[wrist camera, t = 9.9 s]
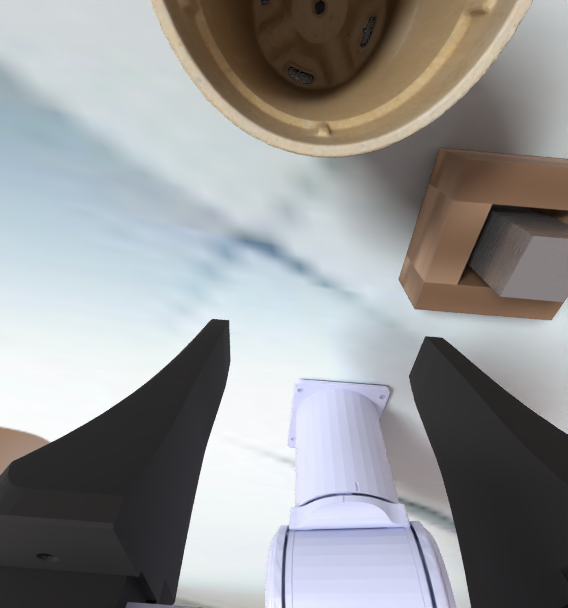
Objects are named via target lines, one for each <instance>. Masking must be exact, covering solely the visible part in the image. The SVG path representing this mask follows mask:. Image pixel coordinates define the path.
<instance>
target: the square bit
mask: <svg viewBox="0 0 568 608" xmlns="http://www.w3.org/2000/svg"><path fill="white" fill-rule="evenodd" d="M467 264H468V265H469V266H470V267H471V268H472V269H473V270H474V271H475V272H476V273H477V274H478V275H479V276H480V277H481V278H482V279H483V280H484V281H485V282H486V283H487V284H488V285H489V286H490V287H491V288H492V289H493V290H494V291H495V292H496V293H497V294H498V295H499V296H500V297H510V298H522V299H533V300H544V301H555V302H564V301H565V299H566V298H567V296H568V224H566V223H564V222H562V221H560V220H557V219H555V218H553V217H551V216H549V215H547V214H545V213H543V212H541V211H539V210H537V209H535V208H532V207H522V206H510V205H498V204H492V206H491V208H490V211H489V213H488V215H487V218H486V220H485V222H484V224H483V227H482V229H481V231H480V234H479V236H478V238H477V240H476V243H475V245H474V247H473V250H472V252H471V254H470V256H469V259H468V261H467Z"/></svg>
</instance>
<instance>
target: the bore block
mask: <svg viewBox="0 0 568 608" xmlns="http://www.w3.org/2000/svg"><path fill="white" fill-rule="evenodd" d="M492 204H498V205H510V206H522V207H532V208H535V209H537V210H539V211H541V212H543V213H545V214H547V215H549V216H551V217H553V218H555V219H557V220H560V221H562V222H564V223H566V224H568V159H562V158H551V157H539V156H527V155H515V154H504V153H492V152H480V151H468V150H457V149H445V148H440V149H439V153H438V156H437V159H436V162H435V165H434V168H433V172H432V175H431V178H430V181H429V184H428V188H427V191H426V194H425V197H424V200H423V203H422V207H421V210H420V213H419V216H418V219H417V223H416V226H415V229H414V232H413V235H412V239H411V242H410V245H409V248H408V251H407V254H406V258H405V261H404V264H403V267H402V270H401V274H400V277H399V281H400V283H401V285H402V287H403V289H404V290H405V292H406V294H407V296H408V298H409V300H410V302H411V303H412V305H413V307H414V309H420V310H432V311H444V312H456V313H468V314H481V315H493V316H505V317H517V318H529V319H541V320H552V319H553V317H554V316H555V314H556V313H557V311H558V310H559V309H560V307H561V306H562V304H563V303H564V302H555V301H544V300H533V299H522V298H510V297H500V296H499V295H498V294H497V293H496V292H495V291H494V290H493V289H492V288H491V287H490V286H489V285H488V284H487V283H486V282H485V281H484V280H483V279H482V278H481V277H480V276H479V275H478V274H477V273H476V272H475V271H474V270H473V269H472V268H471V267H470V266H469V265H468V264H467V261H468V259H469V256H470V254H471V252H472V250H473V247H474V245H475V243H476V240H477V238H478V236H479V234H480V231H481V229H482V227H483V224H484V222H485V220H486V218H487V215H488V213H489V211H490V208H491V206H492ZM567 297H568V296H567ZM565 300H566V299H565Z"/></svg>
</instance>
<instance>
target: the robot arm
mask: <svg viewBox="0 0 568 608" xmlns="http://www.w3.org/2000/svg"><path fill="white" fill-rule="evenodd" d="M229 366H230V335H229V320H218V319H212V320H211V321H209V322H208V324H207V325H206V326H205V327H204V328H203V329H202V330H201V332H200V333H199V334H198V335H197V336H196V337H195V338H194V339H193V340H192V341H191V342H190V343H189V344H188V345H187V346H186V347H185V348H184V349H183V350H182V351H181V352H180V353H179V354H178V355H177V356H176V357H175V358H174V359H173V360H172V361H171V362H170V363H169V364H168V365H167V366H165V367H164V368H163V369H162V370H161V371H160V372H159V373H158V374H156V375H155V376H154V377H153V378H152V379H150V380H149V381H148V382H147V383H145V384H144V385H143V386H141V387H140V388H139V389H138V390H136V391H135V392H134V393H132V394H131V395H129V396H128V397H127V398H125V399H124V400H122V401H121V402H119V403H118V404H116V405H115V406H113V407H112V408H110V409H109V410H107V411H106V412H104V413H103V414H101V415H100V416H98V417H96V418H94V419H93V420H91V421H89V422H88V423H86V424H84V425H83V426H81V427H79V428H77V429H76V430H74V431H72V432H70V433H68V434H67V435H65V436H63V437H61V438H59V439H57V440H55V441H53V442H51V443H49V444H47V445H45V446H43V447H41V448H39V449H37V450H35V451H33V452H31V453H29V454H27V455H26V456H23V457H21V458H19V459H17V460H15V461H13V462H12V463H11V464H10V465H9V466H8V467H7V468H6V469H5V471H4V472H3V473H2V474H1V475H0V608H200V607H187V606H174V605H173V604H174V602H175V598H176V592H177V587H178V581H179V576H180V570H181V565H182V559H183V554H184V549H185V544H186V539H187V533H188V528H189V523H190V518H191V513H192V508H193V504H194V499H195V494H196V489H197V485H198V480H199V475H200V471H201V466H202V462H203V457H204V453H205V450H206V446H207V442H208V439H209V436H210V433H211V430H212V427H213V424H214V421H215V418H216V414H217V411H218V408H219V405H220V402H221V399H222V396H223V393H224V389H225V386H226V381H227V377H228V371H229ZM409 378H410V383H411V388H412V392H413V396H414V400H415V403H416V406H417V409H418V412H419V414H420V417H421V420H422V422H423V425H424V428H425V430H426V433H427V435H428V438H429V441H430V443H431V446H432V448H433V451H434V454H435V456H436V459H437V462H438V465H439V468H440V471H441V474H442V477H443V481H444V485H445V488H446V492H447V496H448V499H449V503H450V507H451V511H452V516H453V520H454V524H455V528H456V532H457V537H458V541H459V546H460V551H461V555H462V560H463V565H464V570H465V575H466V581H467V586H468V592H469V597H470V603H471V608H568V434H566V433H565V432H563V431H561V430H560V429H558V428H557V427H555V426H554V425H552V424H551V423H550V422H548V421H547V420H545V419H544V418H542V417H541V416H539V415H538V414H536V413H535V412H534V411H532V410H531V409H529V408H528V407H527V406H525V405H524V404H523V403H521V402H520V401H519V400H517V399H516V398H515V397H513V396H512V395H511V394H510V393H508V392H507V391H506V390H504V389H503V388H502V387H501V386H499V385H498V384H497V383H496V382H494V381H493V380H492V379H491V378H490V377H488V376H487V375H486V374H485V373H484V372H482V371H481V370H480V369H479V368H478V367H477V366H475V365H474V364H473V363H472V362H471V361H470V360H468V359H467V358H466V357H465V356H464V355H463V354H461V353H460V352H459V351H458V350H457V349H456V348H454V347H453V346H452V345H451V344H449V343H448V342H447V341H446V340H444V339H443V338H438V337H426V336H425V339H424V341H423V343H422V346H421V348H420V351H419V353H418V355H417V358H416V360H415V363H414V365H413V367H412V370H411V372H410V375H409ZM300 388H301V389H300ZM389 394H390V390H389V388H388V387H387V386H379V385H367V384H354V383H342V382H330V381H317V380H305V379H299V380H297V381H296V383H295V389H294V397H293V404H292V412H291V420H290V427H289V435H288V446H289V447H291V448H296V481H295V508H290V514H289V525H282V526H280V527H279V529H278V531H277V533H276V534H275V535H274V537H273V538H272V540H271V543H270V547H269V553H268V560H267V570H266V588H265V608H456V604H455V600H454V596H453V592H452V588H451V584H450V581H449V577H448V574H447V571H446V568H445V564H444V561H443V559H442V556H441V553H440V551H439V548H438V546H437V543H436V541H435V539H434V538H433V536H432V535H431V533H430V532H429V531H427V530H426V529H425V528H424V527H423V525H422V524H421V523H420V522H419V521H409V519H408V515H407V511H406V507H405V505H404V504H399V501H398V497H397V493H396V489H395V485H394V481H393V476H392V472H391V468H390V464H389V460H388V456H387V452H386V448H385V444H384V440H383V436H382V431H381V427H380V423H379V420H380V417H381V415H382V412H383V410H384V407H385V404H386V402H387V399H388V397H389Z"/></svg>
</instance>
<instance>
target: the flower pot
mask: <svg viewBox="0 0 568 608" xmlns="http://www.w3.org/2000/svg"><path fill="white" fill-rule="evenodd" d="M318 1H320V0H268V3H267V4H266V5H264V4H262V0H151V3H152V6H153V9H154V11H155V13H156V15H157V18H158V20H159V23H160V25H161V28H162V31H163V33H164V35H165V37H166V38H167V39H168V41H169V44H170V46H171V48H172V50H173V51H174V53H175V55H176V56H177V58H178V60H179V61H180V62H181V64H182V66H183V68H184V70H185V71H186V72H187V74H188V75H189V77H190V78H191V80H192V81H193V82H194V83H195V85H196V86H197V87H198V88H199V90H200V91H201V92H202V94H203V95H204V97H205V98H206V99H207V100H208V101H209V102H210V103H211V104H212V105H213V106H214V107H216V108H217V109H218V110H219V111H220V112H221V113H222V114H223V115H224V116H225V117H226V118H227V119H228V120H230V121H231V122H232V123H233V124H234V125H236V126H237V127H239V128H240V129H241V130H243V131H245V132H246V133H248V134H249V135H251V136H253V137H255V138H257V139H259V140H261V141H263V142H265V143H267V144H268V145H271V146H273V147H276V148H279V149H282V150H285V151H288V152H292V153H295V154H300V155H306V156H312V157H328V158H330V157H333V158H339V157H347V156H354V155H360V154H364V153H368V152H372V151H377V150H380V149H383V148H385V147H387V146H389V145H392V144H394V143H397V142H399V141H401V140H403V139H405V138H407V137H409V136H411V135H412V134H414V133H416V132H418V131H419V130H421V129H423V128H424V127H426V126H428V125H429V124H430V123H432V122H433V121H434V120H436V119H438V118H439V117H440V116H442V115H443V113H445V112H446V111H447V110H448V109H450V108H451V107H452V106H453V105H454V104H456V103H457V102H458V101H459V100H460V99H461V98H462V97H463V96H464V95H465V94H466V93H467V92H468V91H469V90H470V89H471V88H472V87H473V86H474V85H475V84H476V83H477V82H478V81H479V79H480V78H481V77H482V76H483V75H484V74H485V73H486V71H487V70H488V68H489V67H490V66H491V65H492V63H493V62H494V61H495V60H496V58H497V57H498V55H499V54H500V53H501V51H502V50H503V48H504V47H505V46H506V44H507V43H508V42H509V41H510V39H511V38H512V36H513V35H514V33H515V31H516V29H517V27H518V26H519V24H520V22H521V21H522V19H523V18H524V16H525V14H526V12H527V11H528V9H529V8H530V6H531V4H532V1H533V0H321V1H323V2H324V5H325V9H324V11H323V12H322V13H321V14H317V13H316V11H315V5H316V3H317V2H318ZM371 17H375V18H376V20H375V23H374V27H373V30H372V32H371V35H370V38H369V40H368V42H367V43H366V44H365V45H364V46H362V47H361V46H360V43H361V41H362V38H363V35H364V32H363V28H364V29H365V28H366V26H367V24H368V22H369V19H370V18H371ZM290 67H293V68H296V69H297V70H300V71H303V72H305V73H308V74H312V75H313V82H312V83H306V84H304V83H300V82H299V81H295V80H294V79H292V77H291V76H290V75H289V73H288V69H289V68H290Z"/></svg>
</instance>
